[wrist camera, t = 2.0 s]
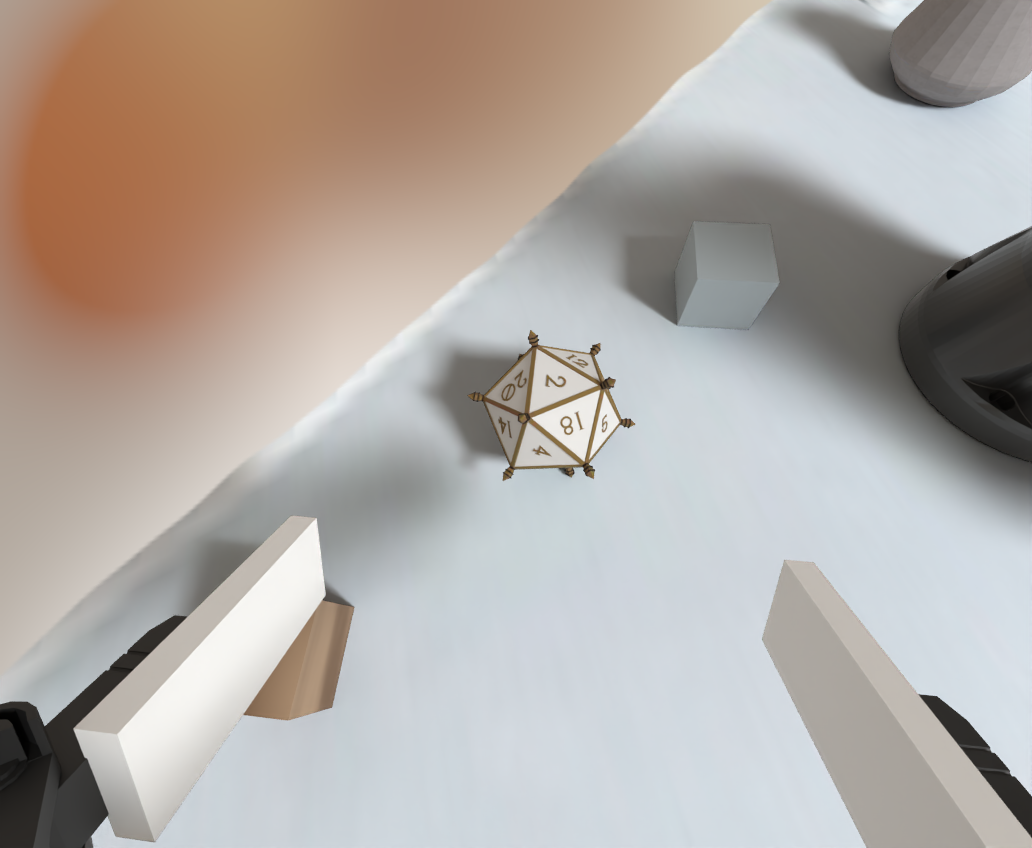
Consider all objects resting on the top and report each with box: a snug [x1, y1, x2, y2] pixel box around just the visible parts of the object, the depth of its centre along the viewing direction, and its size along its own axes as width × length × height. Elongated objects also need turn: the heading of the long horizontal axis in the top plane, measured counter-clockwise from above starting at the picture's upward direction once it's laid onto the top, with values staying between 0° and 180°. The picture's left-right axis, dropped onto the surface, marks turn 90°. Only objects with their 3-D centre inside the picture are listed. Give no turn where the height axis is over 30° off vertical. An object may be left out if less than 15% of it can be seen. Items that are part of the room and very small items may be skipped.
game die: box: [467, 330, 635, 481], centre depth 28 cm, size 9×8×10 cm
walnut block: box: [243, 600, 354, 720], centre depth 24 cm, size 5×5×5 cm
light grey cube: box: [674, 221, 780, 330], centre depth 33 cm, size 5×5×5 cm
